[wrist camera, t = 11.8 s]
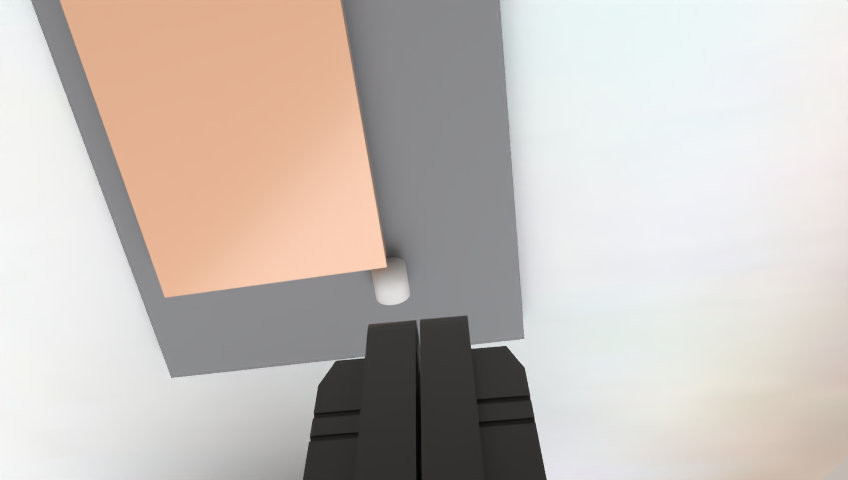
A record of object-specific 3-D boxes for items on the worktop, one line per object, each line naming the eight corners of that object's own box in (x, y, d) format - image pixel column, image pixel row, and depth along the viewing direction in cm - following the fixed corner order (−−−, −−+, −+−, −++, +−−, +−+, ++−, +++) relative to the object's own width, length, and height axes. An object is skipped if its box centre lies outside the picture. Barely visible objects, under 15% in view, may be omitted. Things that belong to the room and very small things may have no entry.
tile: (328, -69, 26) (330, -74, 28) (49, -29, 26) (64, -36, 28) (387, 267, 33) (386, 250, 34) (164, 297, 33) (172, 279, 35)
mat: (-27, -213, 27) (-77, -217, 24) (474, -288, 26) (482, -301, 23) (179, 359, 39) (162, 399, 37) (520, 321, 39) (528, 359, 36)
